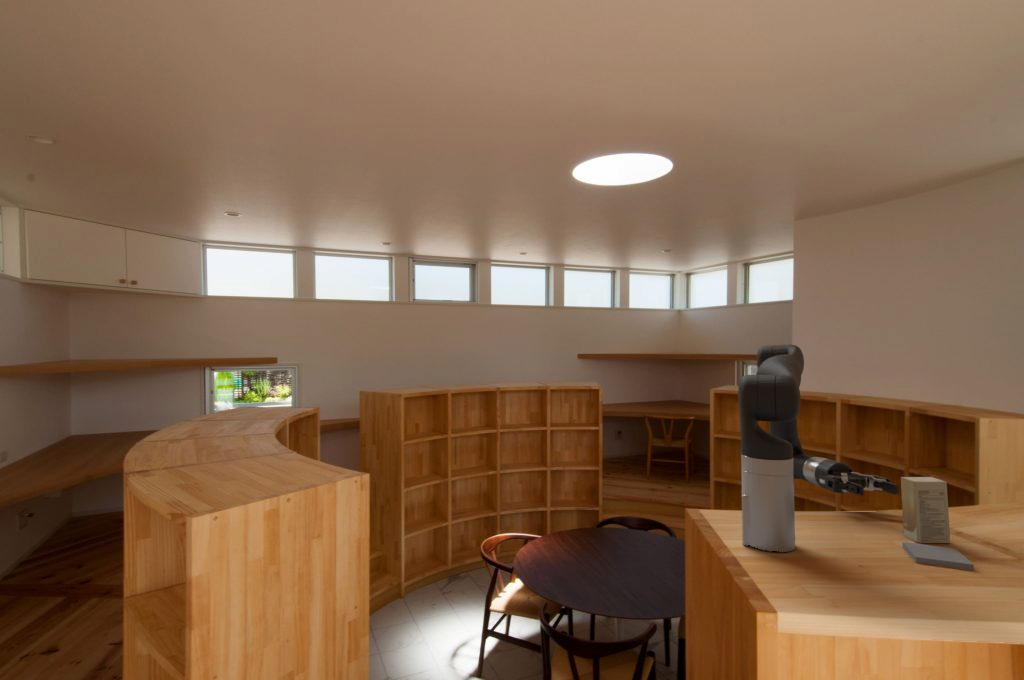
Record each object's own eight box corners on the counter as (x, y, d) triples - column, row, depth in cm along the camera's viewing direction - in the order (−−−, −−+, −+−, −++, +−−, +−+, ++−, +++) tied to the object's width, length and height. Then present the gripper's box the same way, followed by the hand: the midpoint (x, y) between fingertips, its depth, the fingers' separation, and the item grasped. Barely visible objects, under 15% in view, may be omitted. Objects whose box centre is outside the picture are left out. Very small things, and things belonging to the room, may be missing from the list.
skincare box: (934, 536, 101) (932, 476, 102) (951, 544, 97) (949, 481, 98) (901, 535, 102) (899, 475, 103) (916, 543, 98) (914, 480, 98)
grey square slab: (915, 562, 88) (915, 556, 88) (902, 547, 95) (902, 541, 96) (973, 570, 85) (973, 564, 85) (955, 553, 92) (955, 548, 92)
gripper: (800, 459, 126) (850, 474, 110) (852, 458, 128) (908, 472, 111) (801, 489, 126) (850, 508, 110) (853, 488, 127) (909, 506, 111)
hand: (880, 490), depth 111 cm, fingers open, 8 cm apart
